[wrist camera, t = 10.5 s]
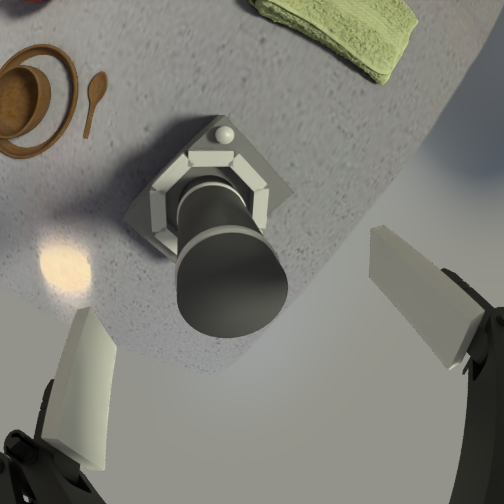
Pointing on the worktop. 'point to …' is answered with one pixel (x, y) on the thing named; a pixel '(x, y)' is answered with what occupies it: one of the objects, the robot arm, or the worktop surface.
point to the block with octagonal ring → (199, 164)
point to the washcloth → (350, 28)
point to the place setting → (37, 99)
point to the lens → (224, 263)
